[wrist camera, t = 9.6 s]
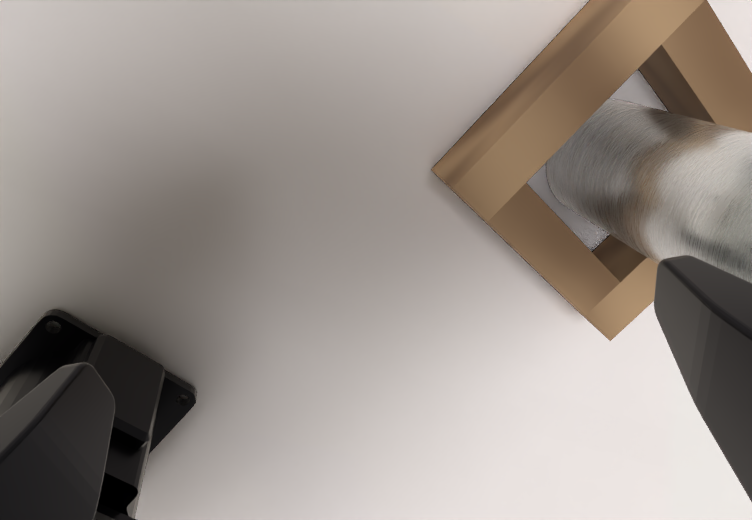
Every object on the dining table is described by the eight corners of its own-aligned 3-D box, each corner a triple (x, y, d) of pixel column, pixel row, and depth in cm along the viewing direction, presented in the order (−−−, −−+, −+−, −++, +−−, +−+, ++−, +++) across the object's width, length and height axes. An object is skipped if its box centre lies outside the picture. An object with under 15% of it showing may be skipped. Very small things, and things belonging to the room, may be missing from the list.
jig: (578, 312, 26) (610, 340, 24) (431, 169, 22) (452, 188, 20) (753, 146, 24) (805, 160, 22) (629, -42, 20) (677, -48, 18)
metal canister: (551, 227, 24) (842, 438, 12) (538, 116, 22) (873, 243, 10) (654, 194, 24) (1032, 368, 13) (651, 83, 22) (1099, 167, 11)
